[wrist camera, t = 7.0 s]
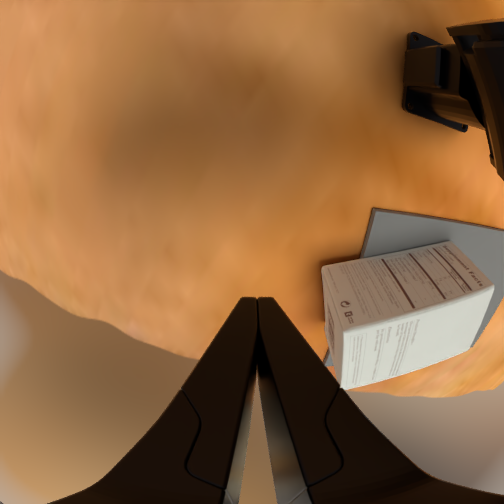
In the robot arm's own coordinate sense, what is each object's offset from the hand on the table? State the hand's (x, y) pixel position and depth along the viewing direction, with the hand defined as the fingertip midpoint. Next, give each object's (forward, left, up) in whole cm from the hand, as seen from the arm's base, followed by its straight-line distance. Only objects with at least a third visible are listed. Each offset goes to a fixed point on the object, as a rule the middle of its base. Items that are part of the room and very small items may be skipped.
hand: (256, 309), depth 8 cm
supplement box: (-6, +10, -9) cm, 15 cm away
